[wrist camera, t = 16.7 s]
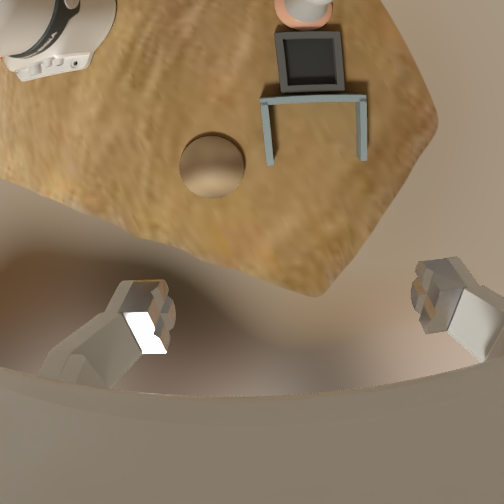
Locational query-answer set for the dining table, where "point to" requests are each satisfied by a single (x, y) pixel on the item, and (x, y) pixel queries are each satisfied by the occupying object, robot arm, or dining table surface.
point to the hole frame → (309, 61)
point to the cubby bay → (305, 98)
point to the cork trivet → (211, 167)
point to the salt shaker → (307, 9)
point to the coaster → (297, 24)
